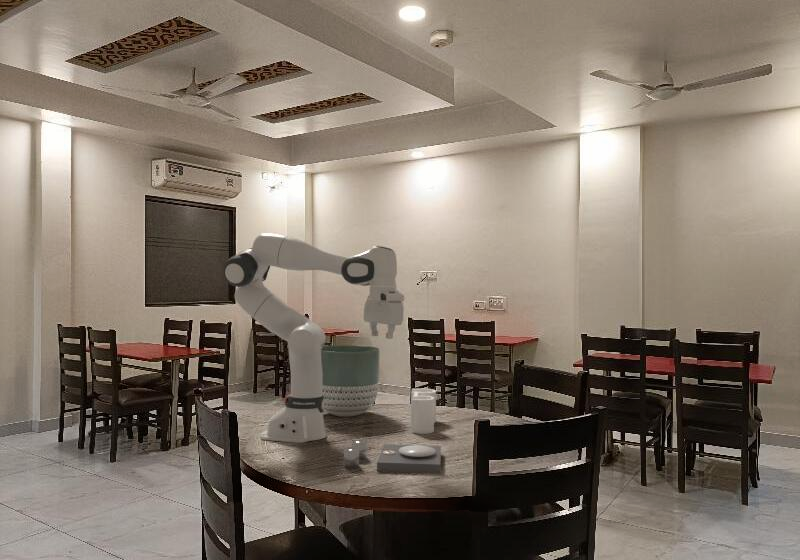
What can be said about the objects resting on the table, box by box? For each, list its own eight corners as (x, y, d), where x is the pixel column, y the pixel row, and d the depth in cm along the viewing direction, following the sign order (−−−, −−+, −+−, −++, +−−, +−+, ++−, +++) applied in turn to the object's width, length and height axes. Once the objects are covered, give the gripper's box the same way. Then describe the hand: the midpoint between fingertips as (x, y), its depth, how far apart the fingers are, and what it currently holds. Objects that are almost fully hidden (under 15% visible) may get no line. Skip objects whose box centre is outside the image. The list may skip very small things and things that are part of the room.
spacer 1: (342, 468, 181) (343, 450, 181) (345, 463, 185) (345, 447, 185) (357, 468, 181) (358, 451, 181) (359, 464, 185) (360, 447, 185)
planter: (313, 408, 266) (314, 345, 266) (376, 407, 269) (377, 345, 269) (311, 422, 239) (312, 352, 239) (381, 421, 242) (382, 352, 242)
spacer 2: (350, 459, 190) (351, 443, 190) (353, 455, 194) (353, 439, 194) (365, 460, 190) (365, 443, 190) (367, 456, 194) (367, 440, 194)
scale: (377, 471, 178) (377, 458, 178) (384, 452, 198) (384, 440, 198) (440, 473, 177) (440, 460, 177) (440, 454, 197) (440, 442, 197)
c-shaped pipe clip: (435, 434, 224) (436, 400, 224) (408, 433, 224) (408, 399, 224) (435, 419, 249) (436, 388, 249) (411, 418, 249) (411, 388, 249)
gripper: (359, 294, 213) (358, 335, 213) (390, 296, 196) (389, 340, 196) (375, 294, 216) (374, 334, 216) (407, 296, 199) (406, 339, 199)
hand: (381, 337), depth 206 cm, fingers open, 8 cm apart
